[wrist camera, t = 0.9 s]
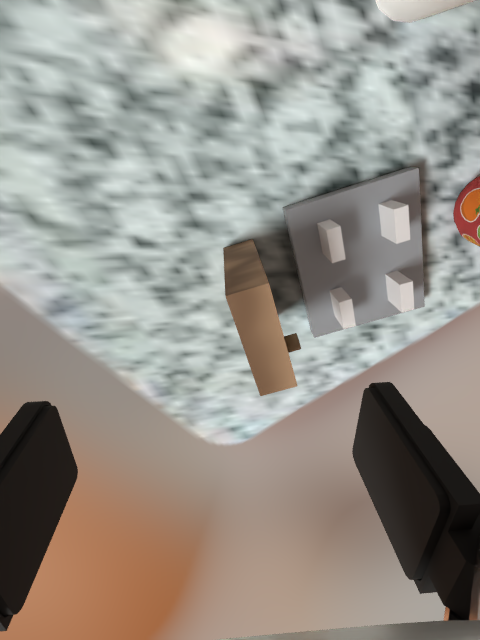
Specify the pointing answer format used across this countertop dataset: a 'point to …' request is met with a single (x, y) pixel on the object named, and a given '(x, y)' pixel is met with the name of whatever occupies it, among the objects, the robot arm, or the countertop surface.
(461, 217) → the smoothie
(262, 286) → the door
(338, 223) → the hinge base
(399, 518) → the robot arm
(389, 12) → the foam cup
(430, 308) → the countertop surface
